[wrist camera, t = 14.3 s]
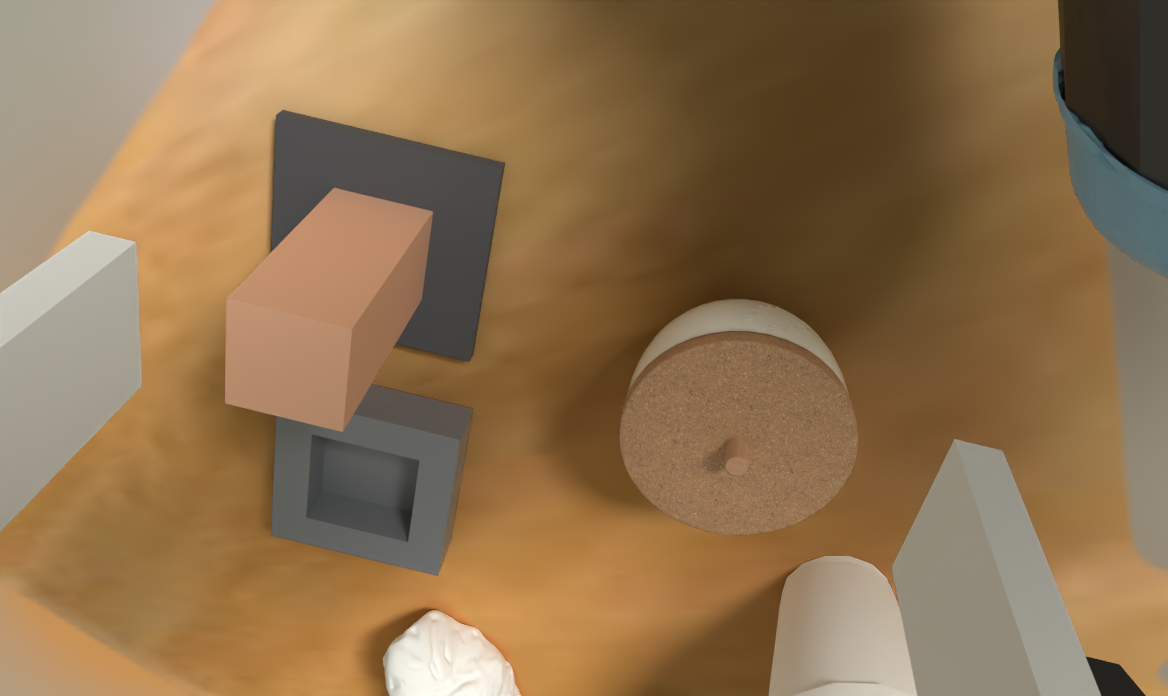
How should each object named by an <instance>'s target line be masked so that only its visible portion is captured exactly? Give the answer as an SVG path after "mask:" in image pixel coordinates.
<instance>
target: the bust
mask: <svg viewBox="0 0 1168 696" xmlns="http://www.w3.org/2000/svg"><path fill="white" fill-rule="evenodd" d="M383 666H384V668H385V678H386V688H387V691H388V693H389V696H521V694H520V692H519V690H518V688H517V686H516V684H515V681H514V674H513V670H512V667H511V665H510V663H509V662H507V661H506V660H505V659H504V657H503V655H502V654H501V653H500V651H499V650H498V649H497V648H496V647H495V646H494V645H493V644H492V643H491V642H489V641H488V640H487V639H485V638H484V636H483V635H482V633H481V632H480V631H479V630H478V629H477V628H475V627H472V626H468V625H465V624H461V623H459V622H457V621H456V620H454V619H453V618H451V617H450V616H448V615H446V614H444V613H443V612H441V611H438V610H432V611H429V612H427V613H426V614H425V615H423V616H422V617H421V618H420V619H419V620H418V621H416V622H415V623H414V624H413V625H412V626H411V627H409V628H408V629H407V630H406V631H405V632H404V633H403V634H402V635H400V636H399V637H397V638H396V639H395V640H394V641H393V642H392V643H391V644H390V646H389V648H388V649H387V652H386V653H385V655H384V657H383Z"/></svg>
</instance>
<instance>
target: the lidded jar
mask: <svg viewBox="0 0 1168 696" xmlns="http://www.w3.org/2000/svg"><path fill="white" fill-rule="evenodd" d="M858 441H859V437H858V426H857V419H856V415H855V411H854V408H853V404H852V401H851V398H850V396H849V394H848V391H847V387H846V384H845V380H844V377H843V375H842V372H841V370H840V368H839V366H838V364H837V362H836V360H835V358H834V356H833V354H832V353H831V351H830V350H829V348H828V347H827V346H826V344H825V343H824V342H823V340H822V339H821V338H820V337H819V335H818V334H817V333H816V332H815V331H814V330H813V329H812V328H811V327H810V326H809V325H808V324H806V323H805V322H803V321H802V320H800V319H799V318H798V317H796V316H795V315H793V314H791V313H790V312H788V311H786V310H784V309H782V308H779V307H777V306H775V305H771V304H768V303H765V302H762V301H755V300H749V299H726V300H718V301H713V302H710V303H706V304H702V305H700V306H697V307H695V308H693V309H690V310H688V311H687V312H685V313H683V314H682V315H680V316H678V317H677V318H675V319H674V320H672V321H671V322H670V323H669V324H667V325H666V326H665V327H664V328H663V329H662V330H660V332H659V333H658V334H657V335H656V336H655V338H654V339H653V340H652V341H651V343H650V344H649V345H648V347H647V348H646V350H645V352H644V353H643V355H642V357H641V358H640V360H639V362H638V364H637V367H636V369H635V371H634V374H633V377H632V380H631V383H630V386H629V390H628V394H627V397H626V400H625V402H624V405H623V408H622V412H621V419H620V425H619V447H620V452H621V456H622V461H623V463H624V465H625V468H626V470H627V472H628V475H629V476H630V478H631V479H632V481H633V482H634V484H635V486H636V487H637V488H638V490H639V491H640V492H641V493H642V494H643V495H644V496H645V497H646V498H647V500H649V501H650V502H651V503H652V504H653V505H655V506H656V507H657V508H658V509H659V510H661V511H662V512H664V513H666V514H667V515H669V516H670V517H672V518H674V519H675V520H677V521H680V522H682V523H684V524H687V525H689V526H692V527H695V528H698V529H701V530H704V531H708V532H714V533H720V534H730V535H751V534H761V533H766V532H772V531H777V530H780V529H783V528H785V527H788V526H791V525H794V524H796V523H798V522H800V521H802V520H804V519H806V518H808V517H810V516H811V515H813V514H814V513H816V512H817V511H819V510H820V509H822V508H823V507H824V506H825V505H826V504H827V503H828V502H830V501H831V500H832V499H833V498H834V497H835V496H836V495H837V493H838V492H839V491H840V489H841V488H842V487H843V486H844V484H845V483H846V481H847V479H848V477H849V475H850V473H851V471H852V469H853V466H854V463H855V460H856V456H857V450H858Z"/></svg>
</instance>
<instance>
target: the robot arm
mask: <svg viewBox="0 0 1168 696" xmlns="http://www.w3.org/2000/svg"><path fill="white" fill-rule="evenodd" d="M1058 9H1059V29H1060V49H1059V50H1058V52H1057V53H1056V55H1055V59H1054V66H1053V88H1054V94H1055V98H1056V101H1057V102H1058V103H1059V107H1060V112H1061V116H1062V117H1063V119H1064V121H1065V128H1066V138H1067V149H1068V159H1069V169H1070V176H1071V182H1072V185H1073V188H1074V191H1075V194H1076V196H1077V197H1078V199H1079V201H1080V203H1081V205H1082V207H1083V209H1084V211H1085V213H1086V215H1087V217H1088V218H1089V220H1090V221H1091V222H1092V223H1093V225H1094V226H1095V228H1096V229H1097V230H1098V231H1099V232H1100V233H1101V234H1102V235H1103V236H1104V237H1105V238H1106V239H1107V240H1109V241H1110V242H1111V243H1112V244H1113V245H1114V246H1115V247H1116V248H1118V249H1119V250H1120V251H1121V252H1123V253H1124V254H1126V255H1127V256H1128V257H1130V258H1131V259H1133V260H1135V261H1136V262H1138V263H1139V264H1141V265H1143V266H1145V267H1146V268H1148V269H1150V270H1152V271H1154V272H1156V273H1158V274H1160V275H1162V276H1164V277H1166V278H1168V0H1058ZM141 387H142V372H141V348H140V323H139V298H138V273H137V248H136V242H134V241H130V240H125V239H121V238H117V237H113V236H109V235H105V234H101V233H96V232H92V231H88V232H86V233H85V234H84V235H82V236H81V237H79V238H78V239H76V240H75V241H74V242H72V243H71V244H69V245H68V246H67V247H65V248H64V249H62V250H61V251H59V252H58V253H57V254H55V255H54V256H52V257H51V258H49V259H48V260H47V261H45V262H44V263H42V264H41V265H40V266H38V267H37V268H35V269H34V270H32V271H31V272H30V273H28V274H27V275H25V276H24V277H22V278H21V279H20V280H18V281H17V282H15V283H14V284H12V285H11V286H10V287H8V288H7V289H5V290H4V291H3V292H1V293H0V532H1V531H2V530H3V529H4V527H5V526H6V525H7V524H8V523H9V522H10V521H11V520H12V519H13V518H14V517H15V516H16V515H17V514H18V513H19V512H20V511H21V510H22V509H23V508H24V507H25V506H26V505H27V504H28V503H29V502H30V501H31V500H32V499H33V498H34V497H35V496H36V495H37V494H38V493H39V491H40V490H41V489H42V488H43V487H44V486H45V485H46V484H47V483H48V482H49V481H50V480H51V479H52V478H53V477H54V476H55V475H56V474H57V473H58V472H59V471H60V470H61V469H62V468H63V467H64V466H65V465H66V464H67V463H68V462H69V461H70V460H71V459H72V458H73V456H74V455H75V454H76V453H77V452H78V451H79V450H80V449H81V448H82V447H83V446H84V445H85V444H86V443H87V442H88V441H89V440H90V439H91V438H92V437H93V436H94V435H95V434H96V433H97V432H98V431H99V430H100V429H101V428H102V427H103V426H104V425H105V424H106V423H107V422H108V420H109V419H110V418H111V417H112V416H113V415H114V414H115V413H116V412H117V411H118V410H119V409H120V408H121V407H122V406H123V405H124V404H125V403H126V402H127V401H128V400H129V399H130V398H131V397H132V396H133V395H134V394H135V393H136V392H137V391H138V390H139V389H140V388H141ZM892 572H893V577H894V582H895V587H896V592H897V597H898V602H899V607H900V612H901V617H902V622H903V627H904V632H905V637H906V642H907V647H908V652H909V657H910V662H911V667H912V672H913V677H914V682H915V687H916V692H917V696H1145V694H1144V693H1143V692H1142V691H1141V690H1140V688H1139V687H1138V686H1137V685H1136V684H1135V682H1134V681H1133V680H1132V679H1131V678H1130V677H1129V675H1128V674H1127V673H1126V672H1125V671H1124V669H1123V668H1122V667H1121V666H1120V665H1119V664H1115V663H1111V662H1106V661H1102V660H1098V659H1094V658H1090V657H1086V656H1085V654H1084V652H1083V649H1082V647H1081V644H1080V642H1079V639H1078V637H1077V634H1076V632H1075V629H1074V627H1073V624H1072V622H1071V619H1070V617H1069V614H1068V612H1067V609H1066V607H1065V604H1064V602H1063V599H1062V597H1061V594H1060V592H1059V589H1058V587H1057V584H1056V582H1055V579H1054V577H1053V574H1052V572H1051V569H1050V567H1049V564H1048V562H1047V560H1046V557H1045V555H1044V552H1043V550H1042V547H1041V545H1040V542H1039V540H1038V537H1037V535H1036V532H1035V530H1034V527H1033V525H1032V522H1031V520H1030V517H1029V515H1028V512H1027V510H1026V507H1025V505H1024V502H1023V500H1022V497H1021V495H1020V492H1019V490H1018V487H1017V485H1016V482H1015V480H1014V477H1013V475H1012V472H1011V470H1010V467H1009V465H1008V462H1007V460H1006V457H1005V455H1004V453H1003V451H1002V450H998V449H994V448H990V447H985V446H981V445H977V444H973V443H969V442H965V441H960V440H956V439H954V441H953V443H952V445H951V447H950V449H949V451H948V453H947V455H946V457H945V460H944V462H943V464H942V466H941V468H940V470H939V472H938V474H937V476H936V478H935V480H934V482H933V484H932V486H931V488H930V490H929V492H928V494H927V496H926V498H925V500H924V502H923V504H922V506H921V509H920V511H919V513H918V515H917V517H916V519H915V521H914V523H913V525H912V527H911V529H910V531H909V533H908V535H907V537H906V539H905V541H904V543H903V545H902V547H901V549H900V551H899V553H898V555H897V557H896V560H895V562H894V564H893V566H892Z"/></svg>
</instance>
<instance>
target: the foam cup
mask: <svg viewBox="0 0 1168 696" xmlns="http://www.w3.org/2000/svg"><path fill="white" fill-rule="evenodd" d="M768 696H917V692H916V687H915V682H914V677H913V672H912V667H911V662H910V657H909V652H908V647H907V642H906V637H905V632H904V627H903V622H902V617H901V612H900V609H899V606H898V603H897V601H896V598H895V596H894V593H893V591H892V588H891V586H890V585H889V582H888V579H887V578H886V577H885V576H884V575H883V574H882V573H881V572H880V571H879V570H878V569H877V568H876V567H875V566H874V565H873V564H870V563H868V562H865V561H862V560H860V559H857V558H854V557H852V556H823V557H820V558H817V559H814V560H811V561H808V562H805V563H802V564H801V565H800V566H799V567H798V568H797V569H796V570H795V571H794V572H792V573H791V574H790V575H789V576H788V577H787V578H786V582H785V585H784V588H783V592H782V595H781V602H780V608H779V616H778V624H777V632H776V640H775V648H774V656H773V664H772V671H771V679H770V687H769V695H768Z"/></svg>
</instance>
